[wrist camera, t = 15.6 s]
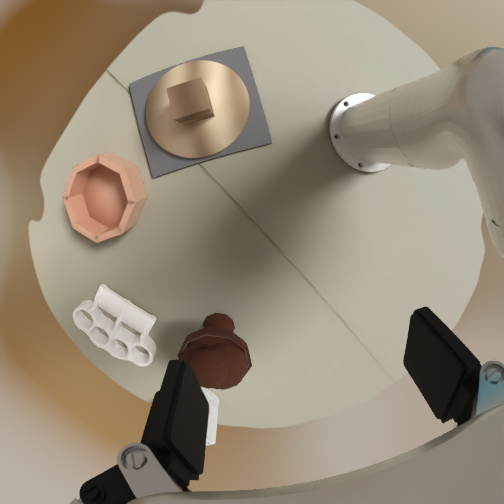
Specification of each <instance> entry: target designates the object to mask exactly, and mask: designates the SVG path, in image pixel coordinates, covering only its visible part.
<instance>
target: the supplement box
mask: <svg viewBox="0 0 504 504" xmlns="http://www.w3.org/2000/svg"><path fill="white" fill-rule="evenodd" d="M201 388H202V391H203V393H204V395H205V397H206V399H207V401H208V403H209V418H208V428H207V437H206V446H207V445H212V444H215V441H216V429H217V417H218V405H219V399H218V398H217V397H216V396H215V395H214V394H213V393H212V392H211V391H210V390H209V389H207V388H204V387H201Z"/></svg>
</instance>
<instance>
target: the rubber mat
mask: <svg viewBox="0 0 504 504" xmlns="http://www.w3.org/2000/svg"><path fill="white" fill-rule="evenodd" d="M197 60H206V61H213V62H217V63H220V64H223V65H225V66H227V67H228V68H230V69H231V70H233V71H234V72H235V73H236V74H237V75H238V76H239V77H240V78H241V80H242V81H243V83H244V84H245V86H246V89H247V91H248V95H249V103H250V107H249V115H248V119H247V122H246V125H245V127H244V129H243V130H242V132H241V133H240V135H239V136H238V137H237V139H236V140H235V141H234V142H233V143H231V144H230V145H229V146H228V147H226V148H225V149H223V150H222V151H220V152H218V153H215V154H213V155H210V156H206V157H199V158H187V157H181V156H178V155H175V154H172V153H170V152H168V151H167V150H165V149H164V148H162V147H161V146H160V145H159V144H158V143H157V142H156V141H155V140H154V138H153V137H152V135H151V133H150V131H149V129H148V126H147V121H146V105H147V101H148V97H149V95H150V93H151V91H152V89H153V87H154V86H155V84H156V83H157V81H158V80H159V79H160V78H161V77H162V76H163V75H164V74H166V73H167V72H168V71H170V70H171V69H173V68H174V67H176V66H178V65H181V64H183V63H181V64H178V65H175V66H172V67H170V68H167V69H164V70H161V71H159V72H156V73H154V74H151V75H149V76H146V77H144V78H142V79H139V80H137V81H135V82H132V83H130V84H129V86H130V90H131V95H132V99H133V104H134V108H135V112H136V116H137V121H138V125H139V129H140V132H141V136H142V140H143V144H144V148H145V151H146V155H147V158H148V162H149V166H150V169H151V172H152V176H153V178H155V177H158V176H160V175H163V174H166V173H169V172H172V171H175V170H178V169H181V168H184V167H187V166H190V165H193V164H196V163H200V162H203V161H206V160H209V159H213V158H216V157H220V156H223V155H227V154H230V153H234V152H238V151H241V150H245V149H249V148H253V147H257V146H261V145H265V144H270V143H272V140H271V137H270V133H269V129H268V126H267V122H266V119H265V115H264V112H263V108H262V105H261V101H260V98H259V94H258V91H257V88H256V84H255V81H254V78H253V74H252V71H251V68H250V65H249V62H248V58H247V55H246V52H245V49H244V46H243V47H238V48H234V49H230V50H226V51H222V52H218V53H214V54H210V55H207V56H203V57H200V58H196V59H193V60H190V61H187V62H191V61H197ZM187 62H184V63H187Z"/></svg>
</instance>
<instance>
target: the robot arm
mask: <svg viewBox="0 0 504 504" xmlns="http://www.w3.org/2000/svg"><path fill="white" fill-rule="evenodd" d="M343 103H344V104H345V106H344V104H343ZM329 132H330V137H331V141H332V144H333V146H334V148H335V150H336V152H337V153H338V155H339V156H340V157H341V158H342V160H343V161H345V162H346V163H347V164H348V165H349V166H351V167H353V168H355V169H357V170H360V171H365V172H378V171H382V170H384V169H387V168H388V167H389V166H391V165H392V164H393V165H401V166H410V167H417V168H424V169H433V170H443V169H448V168H450V167H452V166H454V165H456V164H457V163H459V162H460V161H461V160H462V159H463V158H464V159H465V161H466V163H467V165H468V168H469V170H470V173H471V176H472V178H473V180H474V182H475V185H476V188H477V191H478V194H479V197H480V201H481V204H482V208H483V211H484V215H485V219H486V223H487V227H488V230H489V234H490V237H491V240H492V242H493V245H494V247H495V248H496V250H497V251H498V252H499V254H500V255H501V256H502V257H503V258H504V49H502V48H498V47H487V48H483V49H479V50H476V51H474V52H471V53H469V54H467V55H465V56H463V57H462V58H460V59H458V60H457V61H455V62H453V63H452V64H450V65H448V66H447V67H445V68H444V69H441V70H439V71H437V72H436V73H434V74H431V75H429V76H427V77H424V78H422V79H419V80H416V81H414V82H411V83H408V84H405V85H402V86H400V87H397V88H394V89H392V90H389V91H386V92H384V93H381V94H379V95H376V96H375V95H372V94H367V93H357V94H352V95H350V96H348V97H346V98H344V99H342V100H341V101H340V102H339V103H338V104H337V105H336V107H335V108H334V110H333V112H332V115H331V117H330V123H329ZM335 136H337V138H336V139H335ZM358 163H359V164H360V165H359V166H358ZM403 361H404V366H405V368H406V369H407V371H408V373H409V374H410V376H411V377H412V379H413V380H414V382H415V384H416V385H417V387H418V388H419V390H420V392H421V393H422V395H423V396H424V398H425V400H426V401H427V403H428V405H429V406H430V408H431V410H432V411H433V413H434V415H435V416H436V418H437V419H441V421H442V423H445V422H446V421H448V420H450V419H452V418H453V419H454V421H455V425H454V429H453V430H451V431H449V432H447V433H445V434H443V435H441V436H439V437H438V438H435V439H433V440H432V441H429V442H427V443H425V444H424V445H421V446H419V447H417V448H415V449H412V450H410V451H408V452H405V453H403V454H401V455H398V456H396V457H393V458H391V459H388V460H385V461H382V462H380V463H377V464H374V465H371V466H368V467H365V468H362V469H358V470H355V471H352V472H349V473H345V474H341V475H338V476H333V477H329V478H325V479H320V480H316V481H311V482H306V483H300V484H294V485H289V486H281V487H274V488H265V489H254V490H239V491H209V492H208V491H204V492H203V491H199V492H192V491H191V490H190V489H189V487H188V485H189V481H190V480H199V474H202V473H203V467H204V458H205V447H206V437H207V428H208V418H209V403H208V401H207V399H206V397H205V395H204V393H203V391H202V388H201V386H200V384H199V382H198V380H197V378H196V376H195V374H194V372H193V369H192V367H191V365H190V363H189V362H185V360H184V359H180V360H170V361H169V363H168V366H167V369H166V373H165V376H164V379H163V382H162V386H161V389H160V391H157V392H156V394H155V396H154V399H153V403H152V406H151V409H150V413H149V416H148V419H147V423H146V426H145V429H144V433H143V436H142V440H141V443H131V444H128V445H126V446H125V447H123V448H122V449H121V451H120V452H119V454H118V456H117V463H118V464H117V465H115V466H114V467H112V468H110V469H108V470H107V471H105V472H103V473H101V474H99V475H97V476H96V477H94V478H92V479H90V480H88V481H86V482H85V483H84V484H83V485H82V487H81V489H80V498H79V499H78V500H77V499H76V498H75V499H74V500H73V501H72V502H71V503H70V504H504V365H503V364H502V363H500V362H497V361H489V362H486V363H485V364H484V365H483V366H481V365H480V361H479V360H478V359H477V358H476V357H475V356H474V355H473V354H472V352H471V351H470V350H469V349H468V348H467V347H466V346H465V345H464V344H463V343H462V342H461V341H460V339H459V338H458V337H457V336H456V335H454V333H453V332H452V331H451V330H450V329H449V328H448V327H447V326H446V325H445V324H444V323H443V322H442V321H441V320H440V319H439V318H438V317H437V316H436V315H435V314H434V313H433V312H432V311H431V310H430V309H429V308H428V307H423V308H420V309H417V310H415V311H414V312H413V314H412V315H411V318H410V325H409V331H408V338H407V344H406V349H405V355H404V360H403Z"/></svg>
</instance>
